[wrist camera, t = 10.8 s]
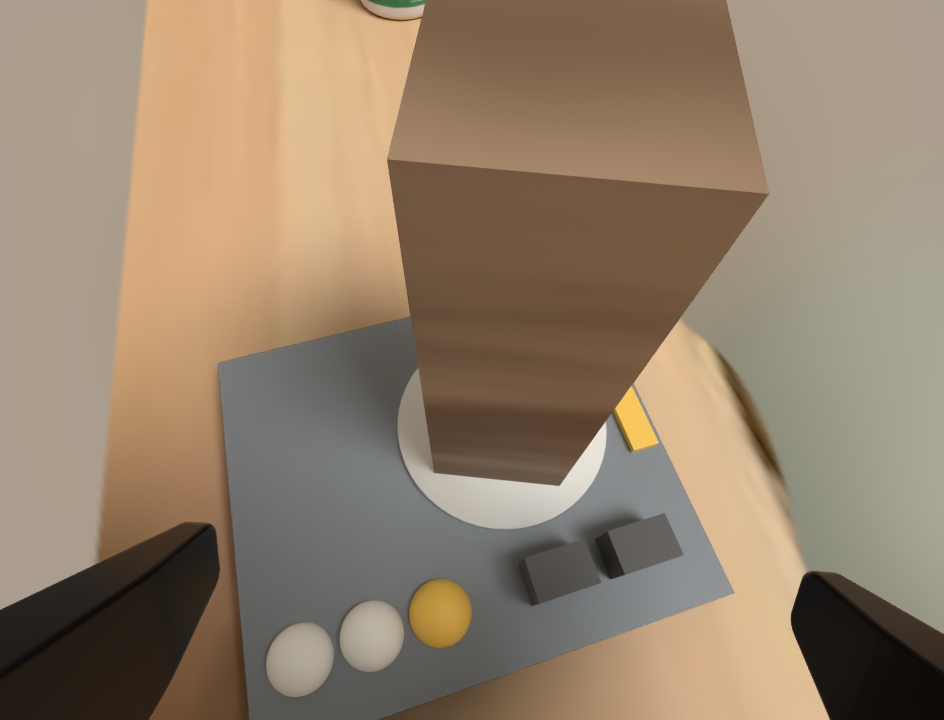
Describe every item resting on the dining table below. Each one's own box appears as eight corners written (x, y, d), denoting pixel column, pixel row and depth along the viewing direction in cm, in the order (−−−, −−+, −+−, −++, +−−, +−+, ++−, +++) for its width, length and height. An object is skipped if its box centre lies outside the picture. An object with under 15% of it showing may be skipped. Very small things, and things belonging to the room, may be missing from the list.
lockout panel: (716, 595, 17) (761, 589, 14) (268, 754, 14) (230, 779, 12) (575, 293, 22) (590, 252, 19) (230, 377, 20) (199, 342, 17)
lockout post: (559, 486, 17) (768, 194, 5) (434, 473, 17) (386, 159, 6) (561, 373, 18) (722, -19, 7) (449, 361, 18) (435, -42, 7)
